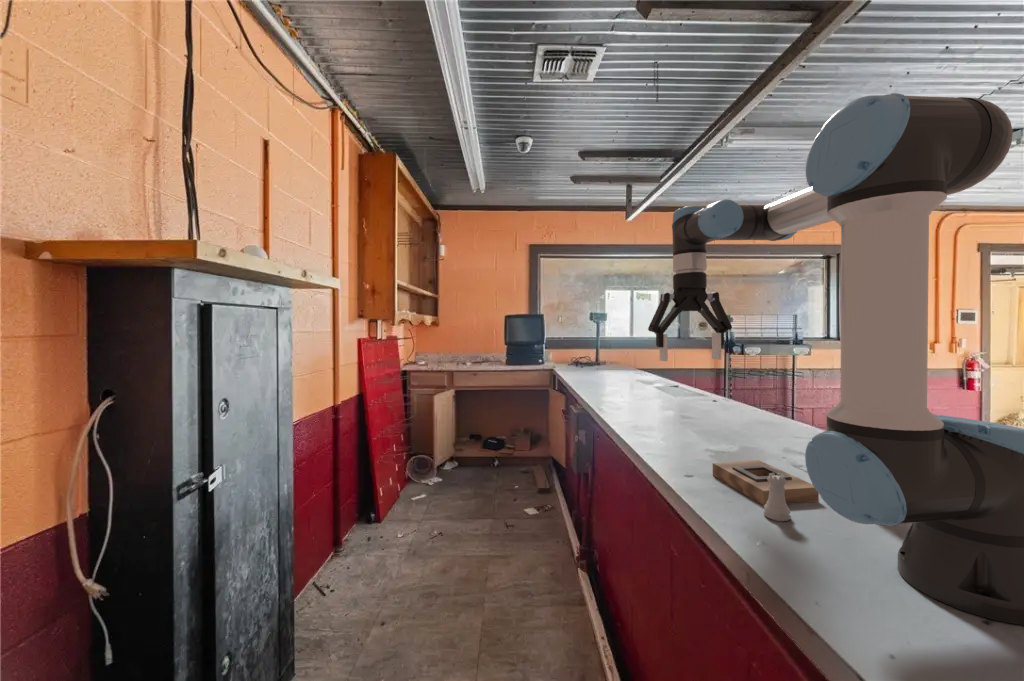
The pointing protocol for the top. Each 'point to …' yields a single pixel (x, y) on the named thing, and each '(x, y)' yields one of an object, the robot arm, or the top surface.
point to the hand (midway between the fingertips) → (690, 360)
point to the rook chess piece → (777, 499)
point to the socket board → (763, 481)
